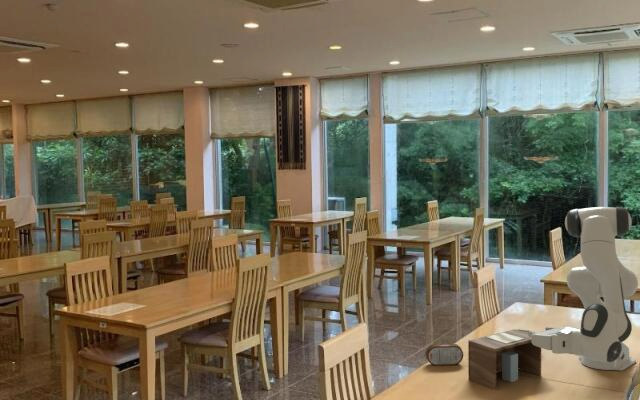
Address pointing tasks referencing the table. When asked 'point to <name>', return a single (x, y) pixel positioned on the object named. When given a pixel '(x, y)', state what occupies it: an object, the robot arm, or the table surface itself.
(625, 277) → the robot arm
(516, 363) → the blue block
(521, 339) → the small brown desk
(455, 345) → the oval desk clock
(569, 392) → the table surface
